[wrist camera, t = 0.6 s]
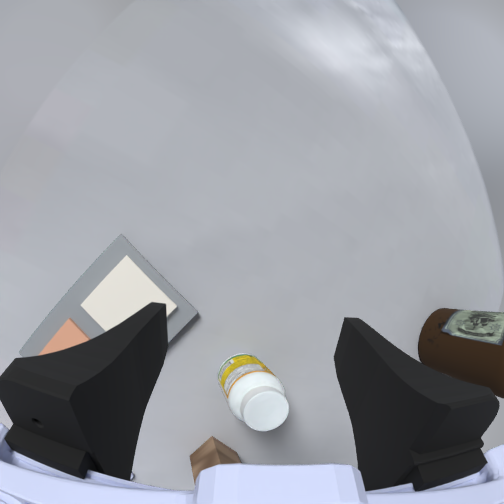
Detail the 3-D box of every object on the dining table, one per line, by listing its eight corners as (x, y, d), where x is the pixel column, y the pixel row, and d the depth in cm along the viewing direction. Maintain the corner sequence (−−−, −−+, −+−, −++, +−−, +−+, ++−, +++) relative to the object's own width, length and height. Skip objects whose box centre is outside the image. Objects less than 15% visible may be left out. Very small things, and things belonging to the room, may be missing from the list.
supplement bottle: (213, 356, 33) (231, 390, 23) (262, 348, 34) (294, 376, 25) (220, 400, 33) (239, 443, 23) (266, 391, 34) (298, 429, 25)
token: (214, 471, 32) (223, 500, 26) (189, 455, 32) (195, 485, 26) (236, 452, 33) (248, 479, 27) (212, 435, 32) (220, 463, 27)
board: (92, 418, 29) (89, 424, 27) (22, 350, 27) (16, 353, 26) (197, 310, 32) (198, 313, 31) (122, 234, 31) (119, 233, 29)
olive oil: (461, 350, 43) (585, 378, 19) (419, 384, 40) (554, 436, 16) (453, 292, 42) (593, 302, 18) (409, 323, 39) (570, 355, 15)
